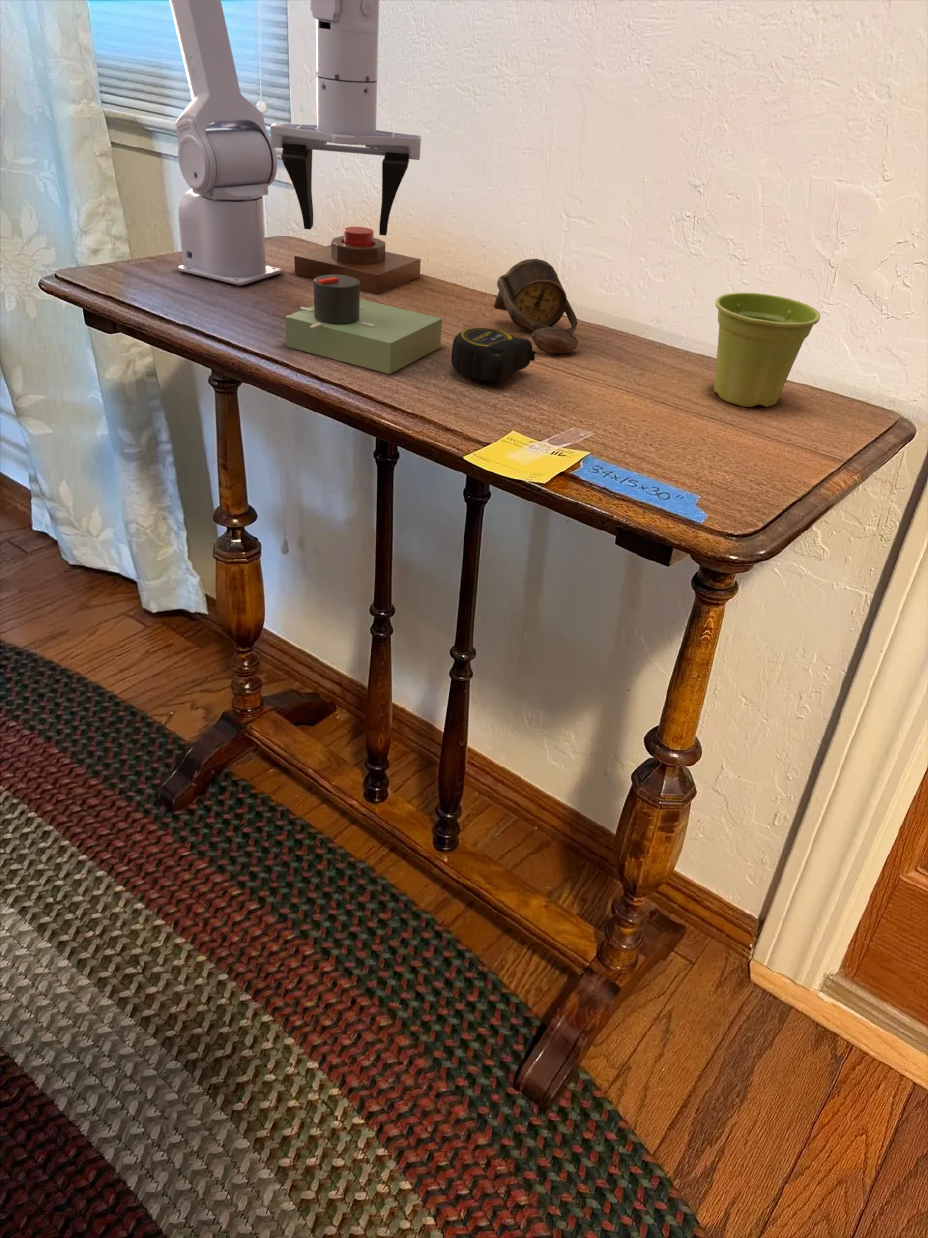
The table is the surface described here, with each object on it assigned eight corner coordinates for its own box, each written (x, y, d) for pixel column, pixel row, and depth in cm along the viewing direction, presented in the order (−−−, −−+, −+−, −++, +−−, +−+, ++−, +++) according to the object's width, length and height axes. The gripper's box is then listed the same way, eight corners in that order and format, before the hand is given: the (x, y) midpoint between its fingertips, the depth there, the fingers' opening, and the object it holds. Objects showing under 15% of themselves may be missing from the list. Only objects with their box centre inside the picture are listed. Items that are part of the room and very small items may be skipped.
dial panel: (275, 349, 91) (274, 316, 89) (340, 322, 99) (340, 292, 97) (382, 378, 87) (383, 344, 85) (440, 347, 95) (442, 316, 93)
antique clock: (594, 274, 103) (509, 244, 102) (598, 294, 92) (503, 260, 91) (571, 337, 106) (488, 308, 106) (572, 364, 95) (480, 331, 94)
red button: (337, 244, 112) (338, 229, 111) (354, 239, 115) (354, 224, 114) (363, 250, 111) (363, 234, 110) (379, 245, 114) (379, 230, 113)
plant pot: (778, 424, 85) (805, 329, 80) (681, 397, 89) (702, 305, 84) (805, 396, 92) (831, 307, 87) (714, 372, 95) (734, 286, 90)
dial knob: (339, 307, 93) (339, 268, 91) (368, 319, 91) (369, 279, 89) (304, 314, 91) (304, 274, 88) (334, 326, 88) (334, 286, 86)
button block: (294, 274, 113) (293, 239, 111) (340, 259, 121) (340, 226, 118) (378, 293, 109) (378, 258, 107) (420, 277, 117) (421, 243, 114)
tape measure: (497, 394, 85) (501, 354, 83) (436, 375, 88) (438, 336, 86) (533, 375, 90) (538, 337, 88) (474, 357, 93) (477, 320, 91)
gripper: (263, 75, 84) (269, 233, 92) (422, 89, 85) (414, 244, 93) (275, 68, 90) (279, 217, 98) (423, 82, 91) (416, 229, 98)
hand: (346, 230), depth 96 cm, fingers open, 7 cm apart
